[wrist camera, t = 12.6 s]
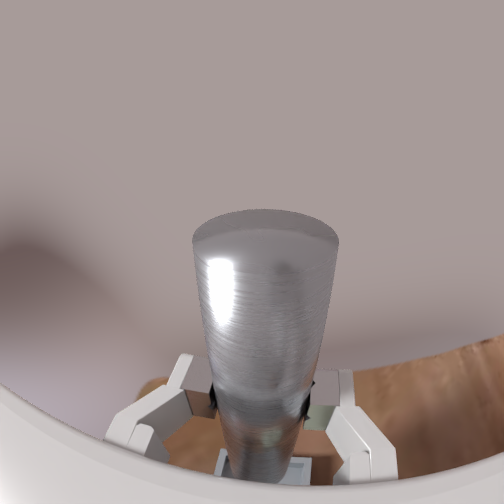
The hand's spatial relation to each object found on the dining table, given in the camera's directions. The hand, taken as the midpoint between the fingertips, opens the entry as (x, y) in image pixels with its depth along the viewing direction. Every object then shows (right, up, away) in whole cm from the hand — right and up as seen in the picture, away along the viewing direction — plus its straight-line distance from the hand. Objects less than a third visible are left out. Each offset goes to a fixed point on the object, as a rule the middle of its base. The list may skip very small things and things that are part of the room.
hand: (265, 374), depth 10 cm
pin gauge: (0, -8, +3) cm, 8 cm away
